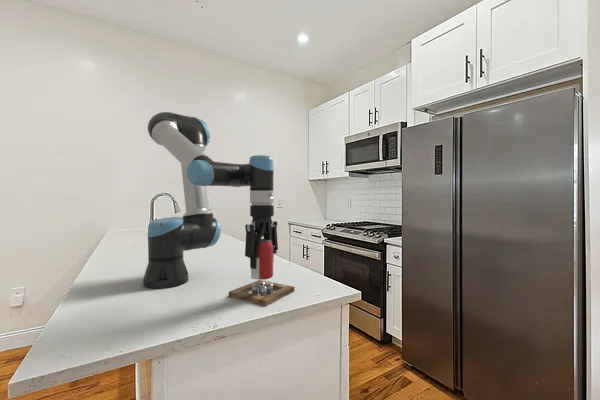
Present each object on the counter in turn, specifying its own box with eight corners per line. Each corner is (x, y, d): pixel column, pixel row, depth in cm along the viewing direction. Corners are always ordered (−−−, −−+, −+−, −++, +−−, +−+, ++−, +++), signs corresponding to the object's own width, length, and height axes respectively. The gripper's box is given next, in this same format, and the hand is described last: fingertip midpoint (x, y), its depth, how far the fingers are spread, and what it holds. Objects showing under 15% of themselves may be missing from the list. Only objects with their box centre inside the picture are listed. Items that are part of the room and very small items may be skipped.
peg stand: (250, 294, 94) (250, 285, 94) (261, 290, 99) (261, 281, 99) (263, 297, 92) (263, 288, 92) (274, 292, 96) (274, 283, 96)
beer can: (275, 275, 98) (275, 238, 97) (269, 280, 91) (269, 241, 91) (256, 274, 99) (256, 238, 99) (249, 279, 92) (249, 241, 92)
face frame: (228, 296, 93) (228, 291, 93) (258, 284, 106) (258, 279, 106) (266, 305, 85) (266, 300, 85) (294, 291, 98) (294, 286, 98)
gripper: (250, 205, 84) (251, 285, 85) (288, 203, 101) (288, 270, 102) (231, 205, 88) (232, 281, 89) (270, 203, 105) (271, 267, 105)
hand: (262, 275), depth 95 cm, fingers closed on beer can, 7 cm apart
